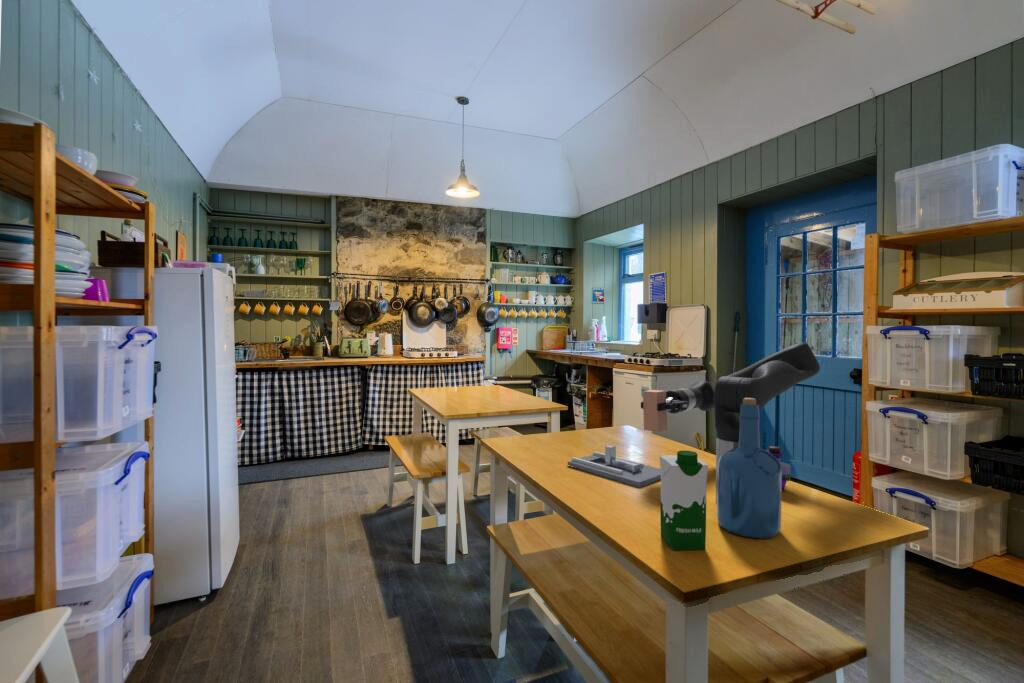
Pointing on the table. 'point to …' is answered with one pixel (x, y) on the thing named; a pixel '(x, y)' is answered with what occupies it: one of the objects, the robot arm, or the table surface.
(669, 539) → the milk carton
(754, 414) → the wine bottle
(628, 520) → the table surface
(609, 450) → the grey l-shaped rod
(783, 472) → the potion bottle
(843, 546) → the table surface
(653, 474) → the track
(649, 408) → the block
